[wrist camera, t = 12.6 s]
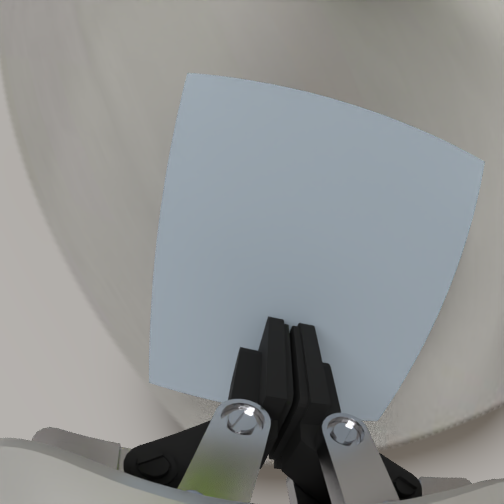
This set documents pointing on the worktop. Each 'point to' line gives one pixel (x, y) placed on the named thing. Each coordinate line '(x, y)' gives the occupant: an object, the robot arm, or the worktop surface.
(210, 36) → the worktop surface
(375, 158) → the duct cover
